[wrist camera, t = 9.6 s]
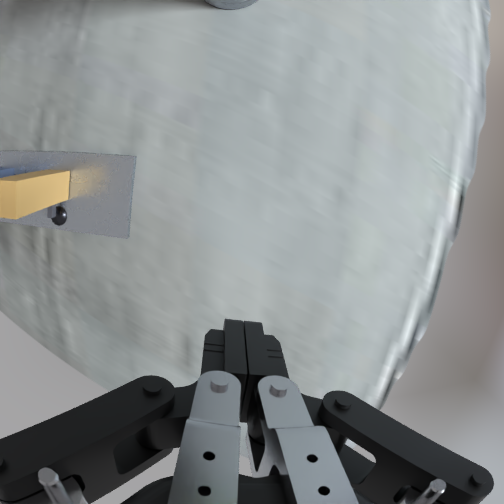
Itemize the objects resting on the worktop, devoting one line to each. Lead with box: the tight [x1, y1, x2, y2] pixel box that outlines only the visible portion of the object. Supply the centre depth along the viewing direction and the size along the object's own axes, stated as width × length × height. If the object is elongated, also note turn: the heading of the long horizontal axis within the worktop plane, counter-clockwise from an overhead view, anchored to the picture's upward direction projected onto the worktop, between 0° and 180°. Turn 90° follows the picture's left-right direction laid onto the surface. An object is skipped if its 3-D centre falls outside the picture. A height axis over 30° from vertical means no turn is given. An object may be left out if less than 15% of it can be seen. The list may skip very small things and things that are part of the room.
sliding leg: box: [0, 170, 70, 219], centre depth 33 cm, size 4×6×13 cm, turn 171°
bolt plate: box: [0, 151, 136, 239], centre depth 39 cm, size 26×11×1 cm, turn 81°
